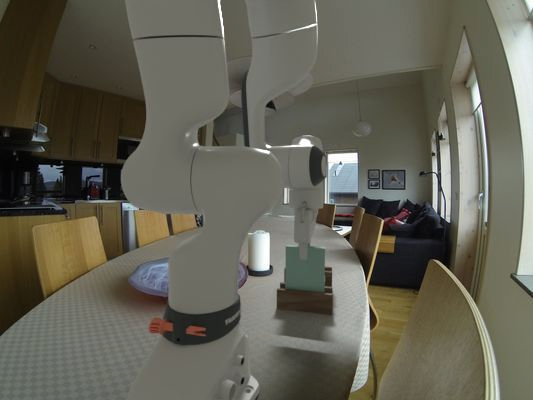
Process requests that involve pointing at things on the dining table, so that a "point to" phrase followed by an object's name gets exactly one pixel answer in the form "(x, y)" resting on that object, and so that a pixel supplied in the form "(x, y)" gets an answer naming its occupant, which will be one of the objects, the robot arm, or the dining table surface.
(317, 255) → the panel
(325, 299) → the rack
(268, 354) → the dining table surface
